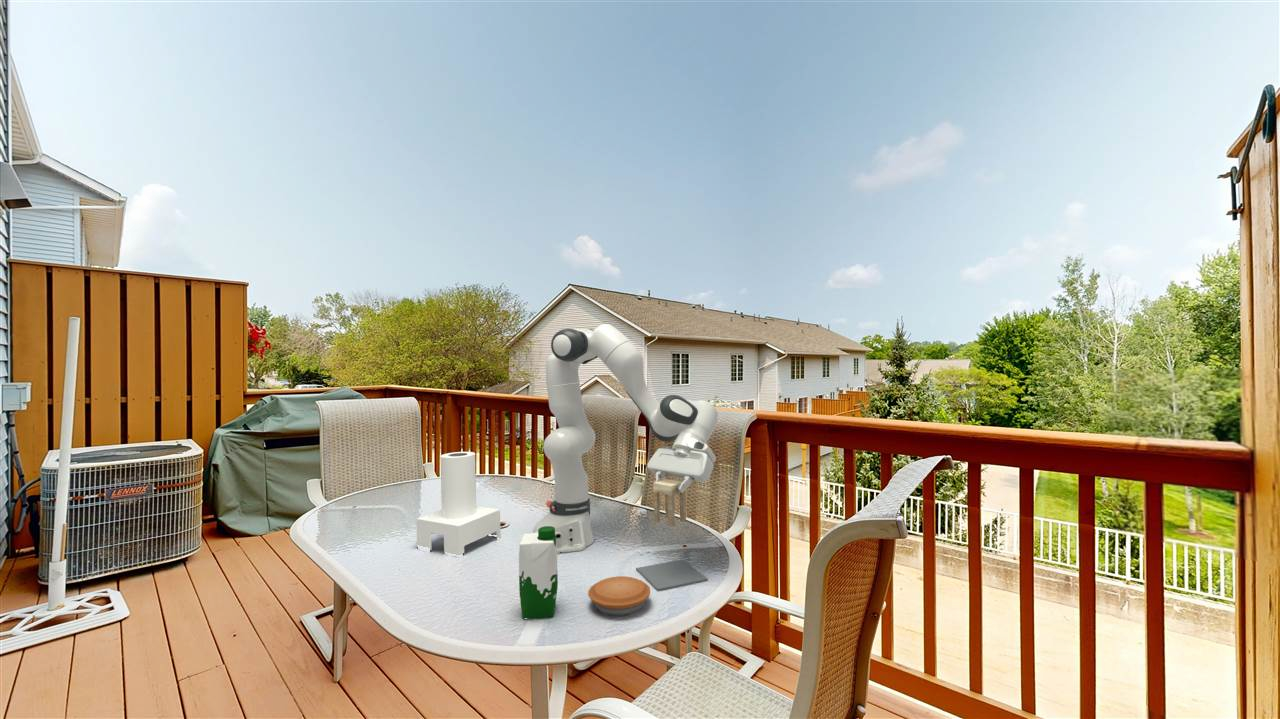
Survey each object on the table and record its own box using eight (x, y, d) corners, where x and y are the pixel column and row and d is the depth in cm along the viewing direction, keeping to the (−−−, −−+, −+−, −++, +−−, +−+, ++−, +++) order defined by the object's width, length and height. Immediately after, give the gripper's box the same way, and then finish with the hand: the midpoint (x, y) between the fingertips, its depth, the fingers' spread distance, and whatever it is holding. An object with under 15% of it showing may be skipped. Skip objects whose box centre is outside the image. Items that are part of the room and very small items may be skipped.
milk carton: (556, 619, 121) (554, 534, 120) (517, 621, 120) (515, 536, 120) (559, 601, 129) (557, 522, 129) (523, 604, 128) (521, 524, 128)
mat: (657, 591, 134) (657, 589, 134) (636, 570, 148) (636, 568, 148) (707, 580, 140) (707, 578, 140) (682, 561, 154) (682, 559, 154)
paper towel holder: (460, 531, 185) (458, 448, 185) (500, 538, 177) (498, 451, 177) (417, 549, 168) (415, 457, 168) (459, 558, 160) (457, 461, 160)
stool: (672, 526, 139) (671, 486, 139) (654, 522, 144) (653, 482, 144) (686, 520, 144) (685, 481, 144) (668, 516, 148) (667, 478, 148)
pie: (600, 626, 117) (599, 604, 117) (580, 598, 131) (580, 578, 131) (661, 612, 123) (660, 591, 123) (636, 586, 137) (635, 568, 137)
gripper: (655, 439, 156) (634, 477, 149) (712, 445, 142) (692, 488, 135) (665, 451, 159) (645, 489, 152) (721, 459, 146) (702, 501, 138)
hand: (667, 489), depth 143 cm, fingers closed on stool, 6 cm apart
